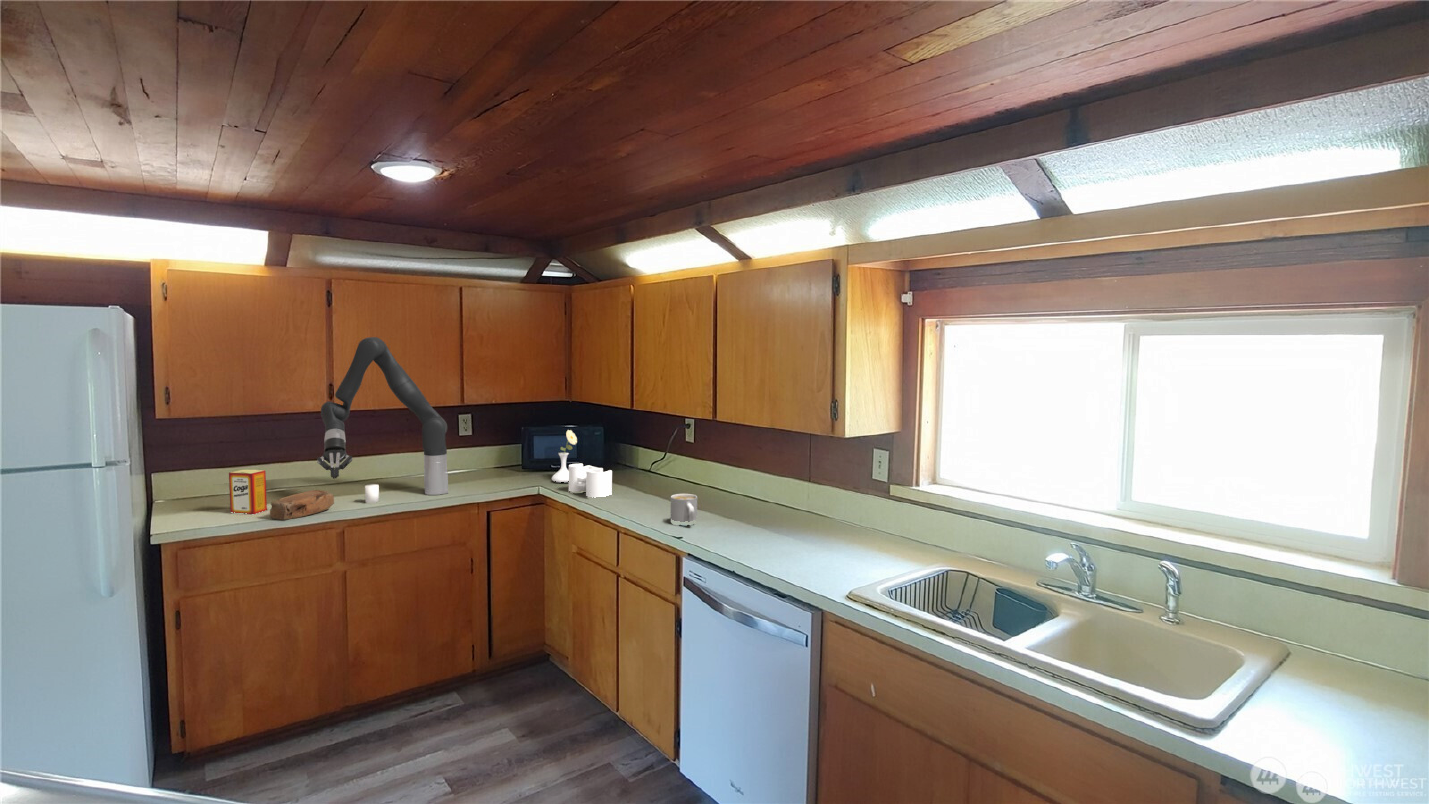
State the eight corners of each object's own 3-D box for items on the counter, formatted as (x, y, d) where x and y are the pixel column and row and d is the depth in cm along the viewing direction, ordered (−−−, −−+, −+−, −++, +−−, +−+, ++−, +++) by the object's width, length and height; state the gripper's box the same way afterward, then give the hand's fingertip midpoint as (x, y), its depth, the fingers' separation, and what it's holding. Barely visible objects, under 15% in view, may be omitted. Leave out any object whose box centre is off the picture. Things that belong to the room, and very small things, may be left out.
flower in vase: (561, 485, 313) (561, 432, 311) (546, 481, 321) (546, 430, 319) (583, 481, 324) (583, 430, 322) (568, 478, 331) (568, 427, 329)
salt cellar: (378, 500, 277) (378, 483, 277) (379, 503, 273) (378, 486, 272) (365, 501, 275) (364, 484, 274) (365, 504, 270) (365, 487, 270)
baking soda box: (230, 513, 252) (228, 471, 251) (244, 509, 259) (242, 468, 258) (253, 514, 251) (251, 472, 250) (266, 510, 258) (265, 469, 256)
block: (314, 506, 265) (267, 519, 246) (314, 487, 264) (266, 499, 245) (336, 509, 261) (290, 523, 242) (335, 490, 260) (289, 503, 241)
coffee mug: (668, 519, 255) (669, 494, 254) (694, 518, 257) (694, 493, 256) (674, 529, 242) (674, 502, 241) (701, 528, 244) (701, 501, 243)
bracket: (563, 491, 301) (563, 465, 300) (582, 488, 307) (582, 462, 306) (594, 501, 283) (594, 473, 282) (613, 498, 289) (613, 470, 288)
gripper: (315, 437, 269) (314, 473, 259) (353, 436, 275) (353, 470, 265) (316, 448, 274) (316, 483, 264) (353, 447, 280) (353, 481, 270)
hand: (334, 477), depth 264 cm, fingers closed
